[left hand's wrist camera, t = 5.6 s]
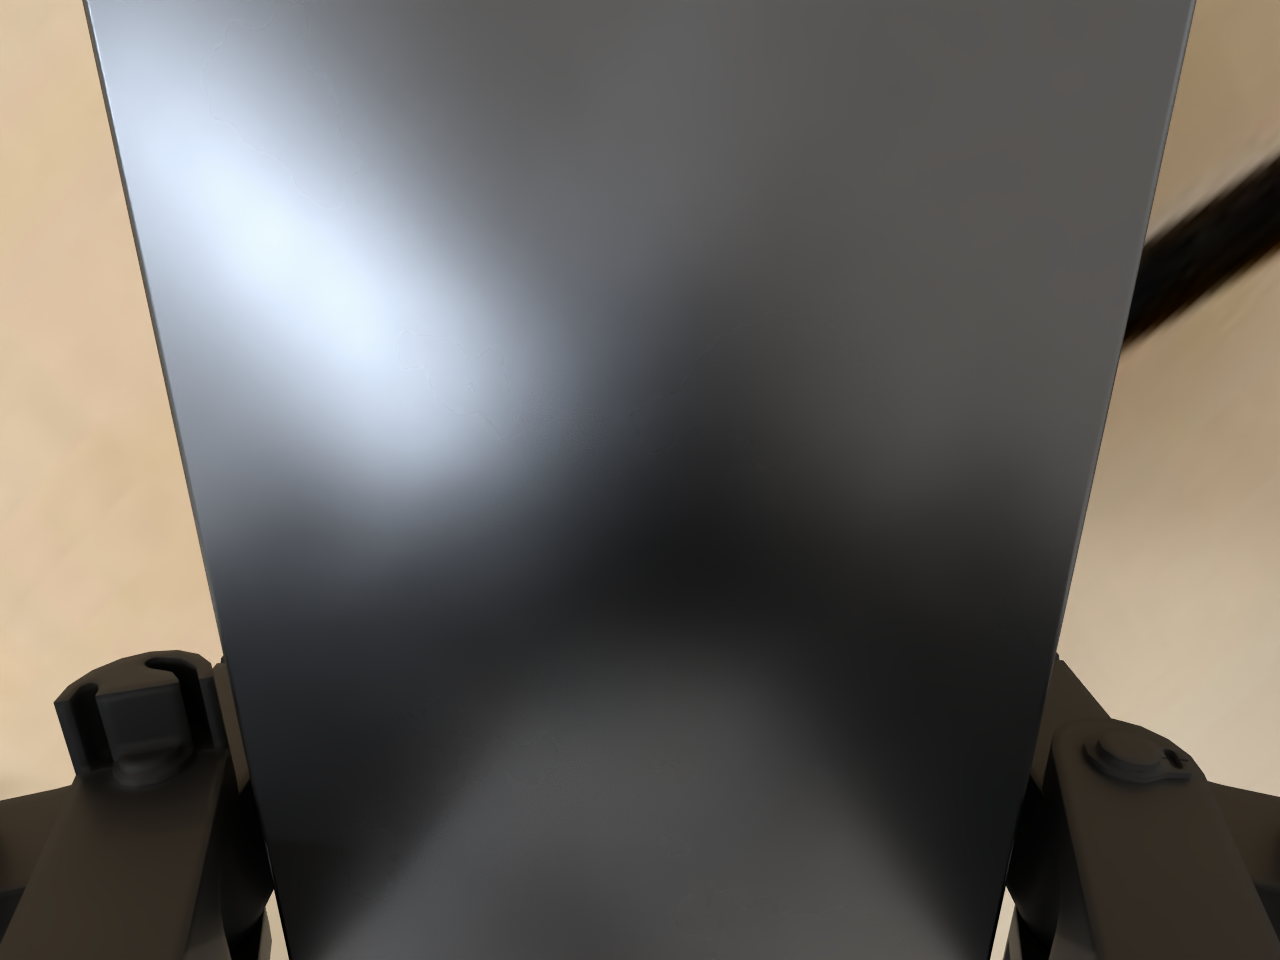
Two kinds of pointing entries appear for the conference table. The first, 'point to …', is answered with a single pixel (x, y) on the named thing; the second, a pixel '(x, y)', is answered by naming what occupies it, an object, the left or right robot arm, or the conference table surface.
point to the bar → (639, 443)
